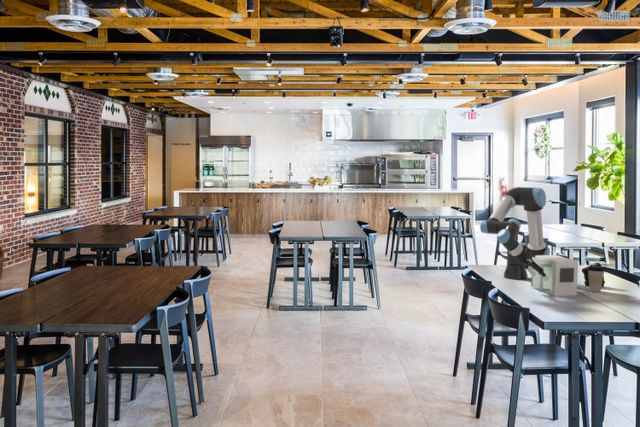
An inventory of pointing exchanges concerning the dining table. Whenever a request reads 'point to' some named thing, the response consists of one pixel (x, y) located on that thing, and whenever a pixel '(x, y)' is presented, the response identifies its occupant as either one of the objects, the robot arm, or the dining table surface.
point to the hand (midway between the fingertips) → (541, 277)
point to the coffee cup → (595, 278)
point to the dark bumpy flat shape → (588, 273)
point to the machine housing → (563, 274)
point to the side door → (539, 281)
